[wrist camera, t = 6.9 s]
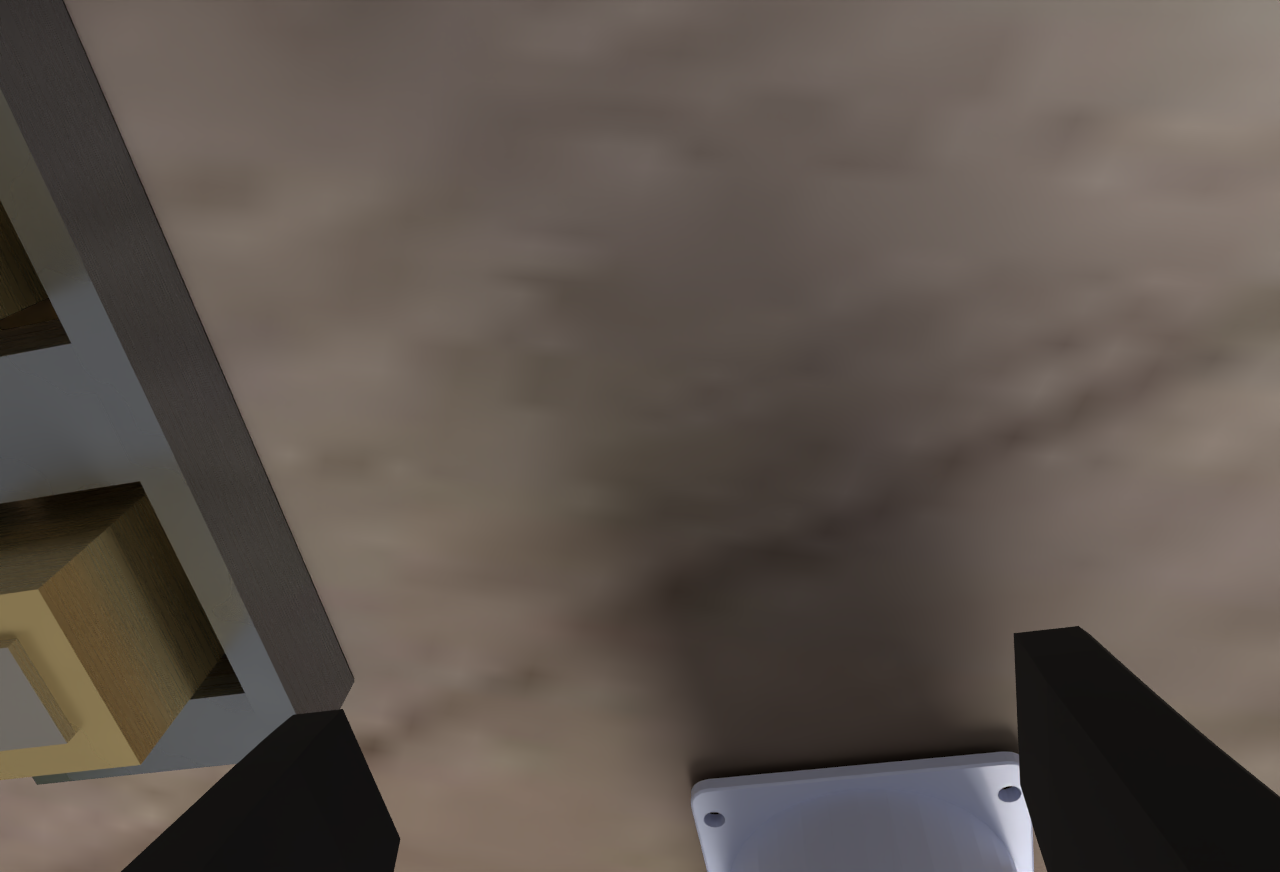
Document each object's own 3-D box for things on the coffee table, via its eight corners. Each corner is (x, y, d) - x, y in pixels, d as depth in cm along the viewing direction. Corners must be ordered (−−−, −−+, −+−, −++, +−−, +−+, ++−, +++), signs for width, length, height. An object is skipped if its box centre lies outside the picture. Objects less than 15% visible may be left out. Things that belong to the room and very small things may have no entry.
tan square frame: (261, 603, 21) (132, 775, 17) (110, 623, 22) (-54, 795, 17) (191, 453, 20) (27, 598, 15) (31, 480, 20) (-175, 627, 16)
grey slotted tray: (354, 681, 22) (315, 755, 20) (99, 711, 23) (37, 784, 21) (13, -114, 15) (-104, -131, 13) (-330, -18, 16) (-490, -18, 14)
